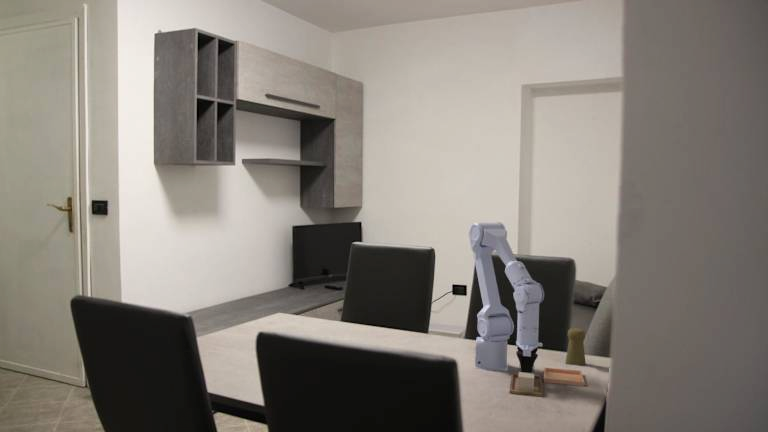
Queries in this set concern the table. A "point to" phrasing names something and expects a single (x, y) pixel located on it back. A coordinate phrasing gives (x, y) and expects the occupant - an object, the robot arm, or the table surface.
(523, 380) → the cream pedestal cube
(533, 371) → the slate gray cube
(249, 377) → the table surface
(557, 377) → the terracotta dish
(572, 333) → the cork
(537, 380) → the walnut tray
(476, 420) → the table surface
